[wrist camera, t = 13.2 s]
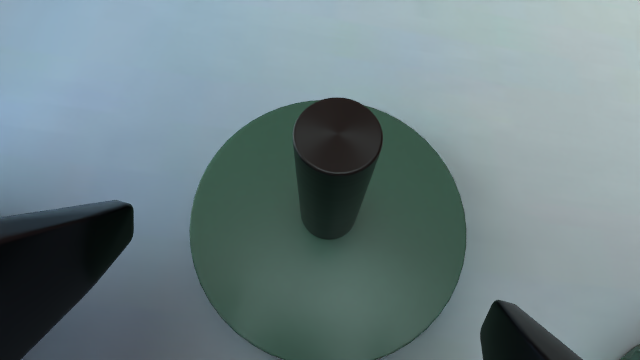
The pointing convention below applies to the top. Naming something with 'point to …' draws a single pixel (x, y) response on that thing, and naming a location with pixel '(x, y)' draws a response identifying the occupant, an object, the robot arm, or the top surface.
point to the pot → (632, 354)
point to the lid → (328, 232)
